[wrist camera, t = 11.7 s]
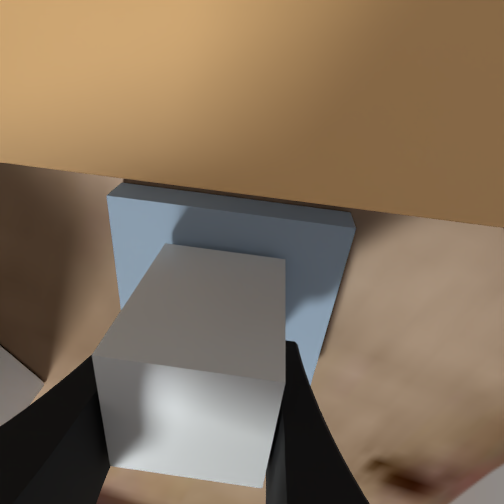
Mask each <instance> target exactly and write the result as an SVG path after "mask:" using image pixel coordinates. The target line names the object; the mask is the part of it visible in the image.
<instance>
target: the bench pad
mask: <svg viewBox="0 0 504 504" xmlns="http://www.w3.org/2000/svg"><path fill="white" fill-rule="evenodd" d="M107 203H108V211H109V218H110V226H111V234H112V242H113V250H114V258H115V266H116V273H117V281H118V289H119V297H120V305H121V310H122V308H123V307H124V305H125V304H126V302H127V301H128V299H129V298H130V296H131V295H132V293H133V292H134V290H135V289H136V287H137V286H138V284H139V282H140V281H141V279H142V278H143V276H144V275H145V273H146V272H147V270H148V269H149V267H150V266H151V264H152V263H153V261H154V260H155V258H156V257H157V255H158V253H159V252H160V250H161V249H162V247H163V246H164V244H165V243H167V244H175V245H182V246H190V247H197V248H205V249H212V250H220V251H227V252H235V253H242V254H250V255H257V256H265V257H272V258H280V259H285V340H287V341H294V342H296V343H297V344H298V348H299V352H300V356H301V359H302V363H303V366H304V369H305V372H306V375H307V378H308V381H309V384H310V385H311V381H312V378H313V374H314V371H315V367H316V364H317V361H318V357H319V354H320V350H321V347H322V343H323V340H324V337H325V333H326V330H327V326H328V323H329V319H330V316H331V313H332V309H333V306H334V302H335V299H336V295H337V292H338V289H339V285H340V282H341V278H342V275H343V271H344V268H345V265H346V261H347V258H348V254H349V251H350V247H351V244H352V241H353V237H354V234H355V230H356V227H355V224H354V221H353V218H352V216H351V213H350V212H344V211H337V210H329V209H321V208H314V207H306V206H298V205H291V204H283V203H275V202H268V201H260V200H252V199H245V198H237V197H229V196H221V195H214V194H206V193H198V192H191V191H183V190H175V189H168V188H160V187H152V186H145V185H137V184H129V183H121V184H120V185H118V186H117V187H116V188H115V189H114V190H112V191H111V192H110V193H109V194H108V195H107Z"/></svg>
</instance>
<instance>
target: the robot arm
mask: <svg viewBox="0 0 504 504" xmlns="http://www.w3.org/2000/svg"><path fill="white" fill-rule="evenodd" d="M109 468H110V462H109V456H108V450H107V444H106V438H105V432H104V426H103V420H102V414H101V408H100V402H99V396H98V390H97V384H96V378H95V372H94V366H93V360H92V355H91V356H90V357H88V358H87V359H86V360H85V361H84V362H83V363H82V364H80V365H79V366H78V367H77V368H76V369H75V370H74V371H72V372H71V373H70V374H69V375H68V376H66V377H65V378H64V379H63V380H61V381H60V382H59V383H58V384H57V385H55V386H54V387H53V388H52V389H50V390H49V391H48V392H47V393H45V394H44V395H43V396H42V397H40V398H39V399H38V400H36V401H35V402H34V403H32V404H31V405H30V406H28V407H27V408H25V409H24V410H23V411H21V412H20V413H18V414H17V415H16V416H14V417H13V418H11V419H10V420H9V421H7V422H6V423H4V424H3V425H1V426H0V504H96V502H97V499H98V497H99V494H100V491H101V488H102V485H103V483H104V480H105V478H106V475H107V473H108V471H109ZM266 504H369V502H368V500H367V499H366V497H365V496H364V494H363V492H362V491H361V489H360V487H359V485H358V484H357V482H356V480H355V479H354V477H353V475H352V473H351V472H350V470H349V468H348V466H347V464H346V462H345V461H344V459H343V457H342V455H341V453H340V451H339V449H338V447H337V445H336V443H335V441H334V439H333V437H332V435H331V433H330V431H329V429H328V427H327V425H326V422H325V420H324V418H323V416H322V413H321V411H320V409H319V406H318V404H317V401H316V399H315V396H314V394H313V391H312V389H311V386H310V384H309V381H308V378H307V375H306V372H305V369H304V366H303V363H302V359H301V356H300V352H299V348H298V344H297V343H296V342H294V341H287V340H285V387H284V392H283V396H282V401H281V405H280V410H279V414H278V419H277V423H276V428H275V432H274V437H273V441H272V446H271V450H270V455H269V459H268V464H267V469H266Z"/></svg>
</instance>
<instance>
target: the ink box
mask: <svg viewBox="0 0 504 504" xmlns="http://www.w3.org/2000/svg"><path fill="white" fill-rule="evenodd" d="M43 386H44V383H43V381H42V380H40V379H39V378H38V377H37V376H36V375H35V374H34V373H32V372H31V371H30V370H29V369H27V368H26V367H25V366H24V365H23V364H21V363H20V362H19V361H18V360H17V359H16V358H14V357H13V356H12V355H11V354H10V353H9V352H7V351H6V350H4V349H3V348H2V347H1V346H0V426H1V425H3V424H4V423H6V422H7V421H9V420H10V419H11V418H13V417H14V416H16V415H17V414H18V413H20V412H21V411H23V410H24V409H25V408H27V407H28V406H29V405H30V404H31V402H32V401H33V399H34V398H35V397H36V395H37V394H38V393H39V391H40V390H41V389H42V387H43Z"/></svg>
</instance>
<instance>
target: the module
mask: <svg viewBox="0 0 504 504" xmlns="http://www.w3.org/2000/svg"><path fill="white" fill-rule="evenodd" d="M92 360H93V366H94V372H95V378H96V384H97V390H98V396H99V402H100V408H101V414H102V420H103V426H104V432H105V438H106V444H107V450H108V456H109V462H110V466H115V467H121V468H128V469H135V470H141V471H148V472H155V473H162V474H168V475H175V476H182V477H189V478H195V479H202V480H209V481H216V482H222V483H229V484H236V485H243V486H249V487H256V488H262V487H263V482H264V478H265V473H266V469H267V464H268V459H269V455H270V450H271V446H272V441H273V437H274V432H275V428H276V423H277V419H278V414H279V410H280V405H281V401H282V396H283V392H284V387H285V259H280V258H272V257H265V256H257V255H250V254H242V253H235V252H227V251H220V250H212V249H205V248H197V247H190V246H182V245H175V244H167V243H165V244H164V246H163V247H162V249H161V250H160V252H159V253H158V255H157V257H156V258H155V260H154V261H153V263H152V264H151V266H150V267H149V269H148V270H147V272H146V273H145V275H144V276H143V278H142V279H141V281H140V282H139V284H138V286H137V287H136V289H135V290H134V292H133V293H132V295H131V296H130V298H129V299H128V301H127V302H126V304H125V305H124V307H123V308H122V310H121V311H120V313H119V314H118V316H117V318H116V319H115V321H114V322H113V324H112V325H111V327H110V328H109V330H108V331H107V333H106V334H105V336H104V337H103V339H102V340H101V342H100V343H99V345H98V347H97V348H96V350H95V351H94V353H93V354H92Z"/></svg>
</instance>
